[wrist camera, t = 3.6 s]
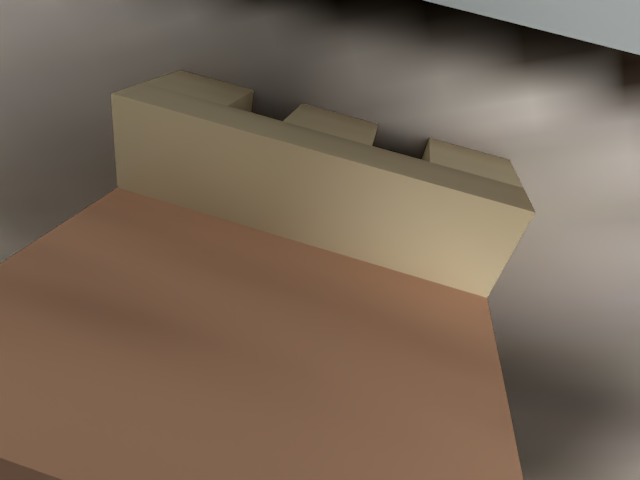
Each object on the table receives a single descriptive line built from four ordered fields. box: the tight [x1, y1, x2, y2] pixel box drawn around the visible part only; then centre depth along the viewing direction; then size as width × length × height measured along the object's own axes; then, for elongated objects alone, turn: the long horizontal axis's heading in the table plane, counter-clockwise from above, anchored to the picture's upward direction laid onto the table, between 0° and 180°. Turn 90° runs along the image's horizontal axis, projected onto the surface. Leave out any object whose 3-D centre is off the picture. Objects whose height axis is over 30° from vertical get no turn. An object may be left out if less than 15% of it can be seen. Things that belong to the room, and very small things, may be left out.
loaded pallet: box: [0, 70, 535, 480], centre depth 8 cm, size 10×6×6 cm, turn 168°
